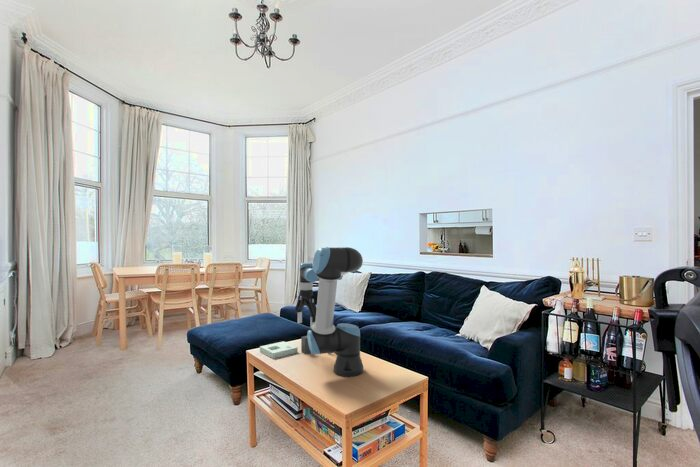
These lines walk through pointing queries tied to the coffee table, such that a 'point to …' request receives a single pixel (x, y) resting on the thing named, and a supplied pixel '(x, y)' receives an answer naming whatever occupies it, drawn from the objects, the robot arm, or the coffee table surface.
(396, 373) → the coffee table surface
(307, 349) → the charger block
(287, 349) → the outlet plate
